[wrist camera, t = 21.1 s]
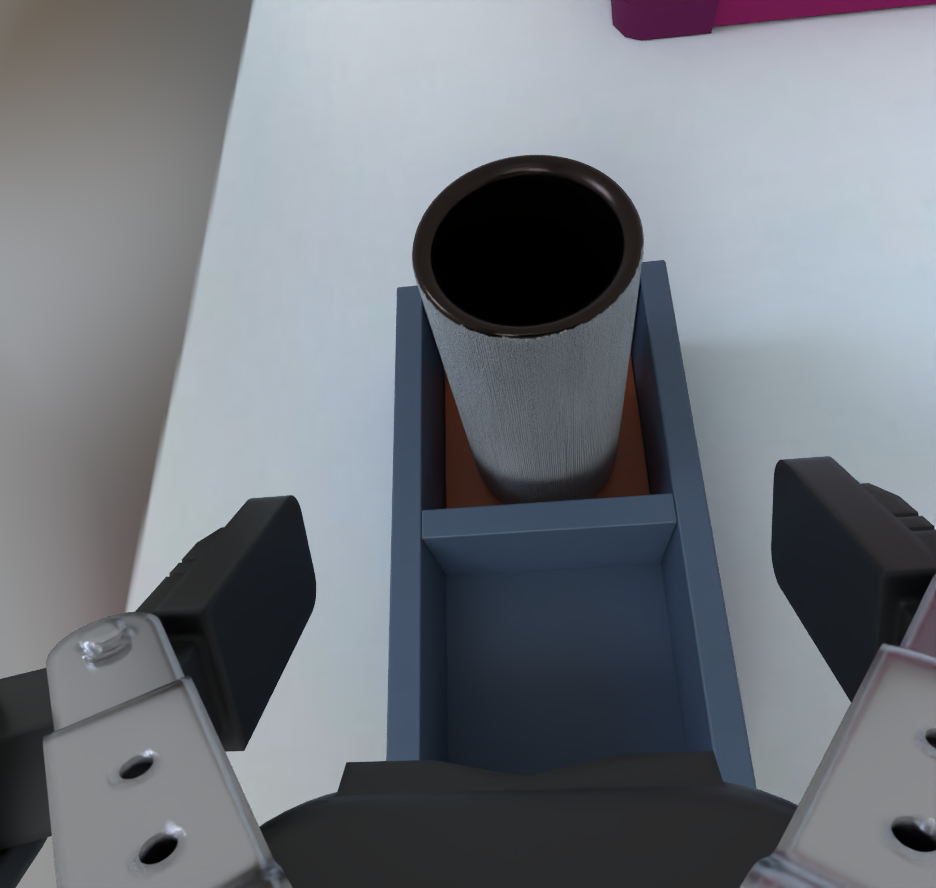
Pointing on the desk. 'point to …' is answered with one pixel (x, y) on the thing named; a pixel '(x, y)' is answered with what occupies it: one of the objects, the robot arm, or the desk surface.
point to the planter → (534, 319)
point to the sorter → (557, 583)
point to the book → (726, 13)
